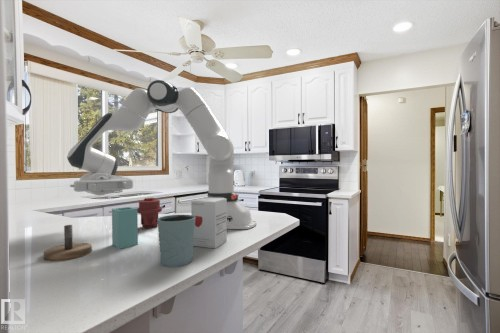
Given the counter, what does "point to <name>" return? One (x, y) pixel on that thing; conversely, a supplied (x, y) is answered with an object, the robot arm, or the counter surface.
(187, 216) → the teal cup
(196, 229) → the supplement box
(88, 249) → the post stand
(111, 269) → the counter surface
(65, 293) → the counter surface
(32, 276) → the counter surface
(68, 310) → the counter surface
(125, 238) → the teal box
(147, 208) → the mechanical component
